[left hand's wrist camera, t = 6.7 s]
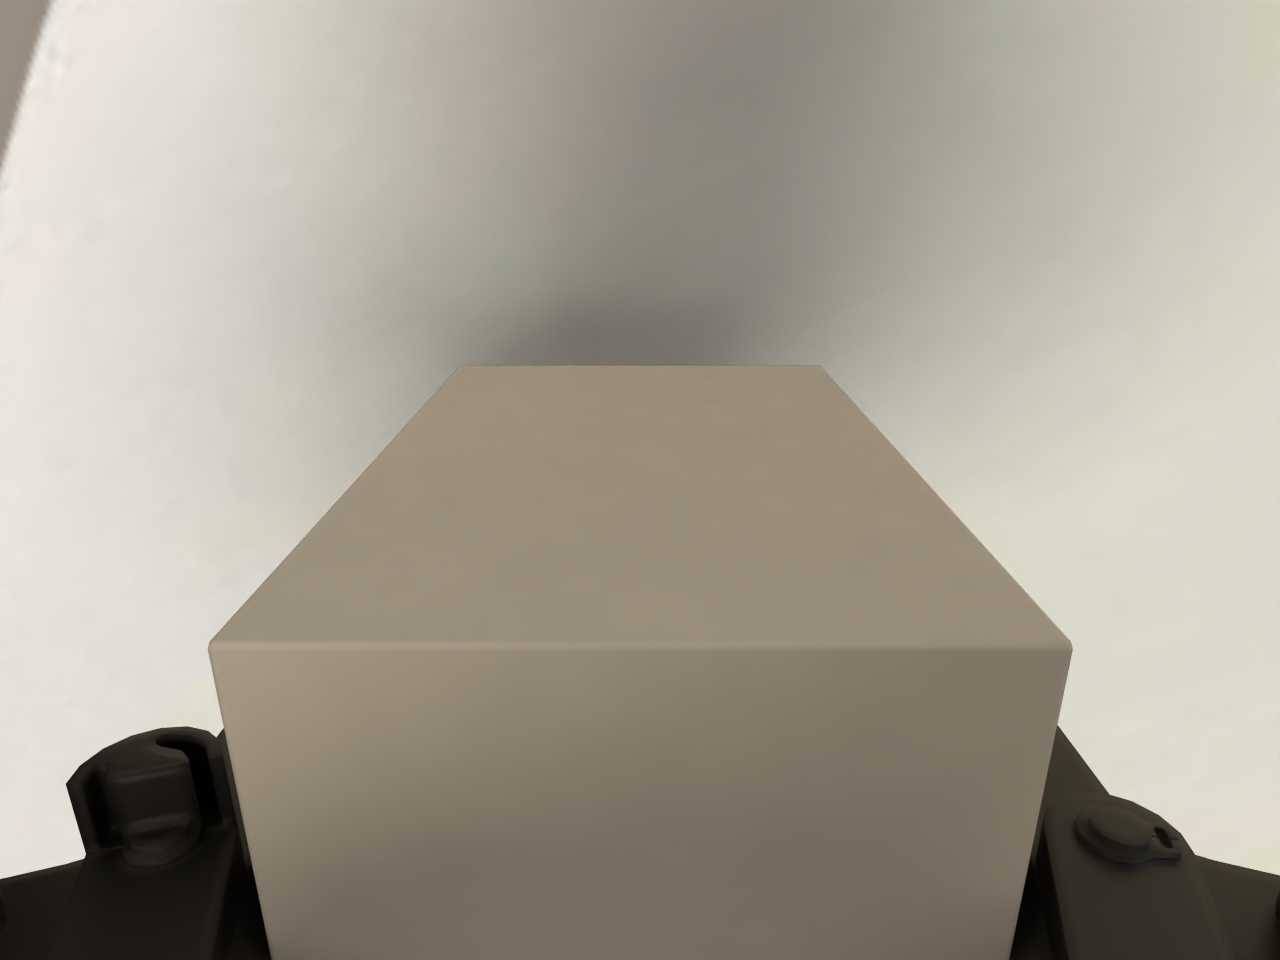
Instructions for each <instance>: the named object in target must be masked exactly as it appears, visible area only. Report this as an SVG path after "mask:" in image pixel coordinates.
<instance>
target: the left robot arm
mask: <svg viewBox="0 0 1280 960" xmlns="http://www.w3.org/2000/svg"><path fill="white" fill-rule="evenodd" d="M66 786H67V790H68V793H69V797H70V800H71V804H72V807H73V811H74V814H75V817H76V821H77V824H78V828H79V831H80V835H81V838H82V841H83V845H84V848H85V852H86V856H85V858H84V859H82V860H78V861H75V862H72V863H68V864H65V865H60V866H56V867H51V868H47V869H43V870H38V871H34V872H30V873H25V874H21V875H17V876H12V877H8V878H3V879H0V960H272V959H271V954H270V949H269V944H268V939H267V935H266V930H265V925H264V920H263V915H262V910H261V905H260V900H259V896H258V891H257V886H256V881H255V876H254V871H253V866H252V862H251V857H250V852H249V847H248V842H247V837H246V832H245V827H244V823H243V818H242V813H241V808H240V803H239V798H238V793H237V788H236V784H235V779H234V774H233V769H232V764H231V759H230V754H229V749H228V745H227V740H226V735H225V730H224V729H223V730H222V731H221V732H220V734H219V735H218V736H217V738H216V737H215V736H214V735H212V734H211V733H210V732H209V731H206V730H201V729H197V728H192V727H171V728H159V729H155V730H152V731H148V732H144V733H140V734H136V735H133V736H130V737H128V738H126V739H123V740H121V741H119V742H117V743H115V744H113V745H110V746H108V747H106V748H104V749H102V750H101V751H100V752H98V753H97V754H95V755H94V756H93V757H91V758H90V759H88V760H87V761H86V762H84V763H83V764H82V765H80V766H79V768H78V769H77V770H76V772H75V773H74V774H73V775H72V777H71V778H70V779H69V781H68V782H67V783H66ZM1009 960H1280V875H1275V874H1271V873H1266V872H1262V871H1258V870H1253V869H1249V868H1244V867H1240V866H1236V865H1231V864H1227V863H1223V862H1218V861H1214V860H1211V859H1207V858H1204V857H1201V856H1197V855H1195V854H1194V852H1193V851H1192V849H1191V848H1190V846H1189V845H1188V843H1187V842H1186V840H1185V839H1184V837H1183V836H1182V834H1181V833H1180V832H1178V831H1177V830H1176V829H1175V828H1174V827H1172V826H1171V825H1170V824H1169V823H1168V822H1166V821H1165V820H1164V819H1163V818H1161V817H1160V816H1159V815H1157V814H1155V813H1153V812H1152V811H1150V810H1148V809H1146V808H1144V807H1142V806H1140V805H1138V804H1136V803H1134V802H1132V801H1129V800H1126V799H1122V798H1119V797H1116V796H1112V795H1109V793H1108V792H1107V791H1106V789H1105V788H1104V787H1103V785H1102V784H1101V783H1100V781H1099V780H1098V779H1097V777H1096V776H1095V775H1094V773H1093V772H1092V771H1091V769H1090V768H1089V767H1088V765H1087V764H1086V763H1085V761H1084V760H1083V758H1082V757H1081V756H1080V754H1079V753H1078V752H1077V750H1076V749H1075V748H1074V746H1073V745H1072V744H1071V742H1070V741H1069V740H1068V738H1067V737H1066V736H1065V734H1064V733H1063V732H1062V730H1061V729H1060V728H1059V726H1057V728H1056V733H1055V738H1054V743H1053V748H1052V753H1051V757H1050V762H1049V767H1048V772H1047V777H1046V782H1045V787H1044V791H1043V796H1042V801H1041V806H1040V811H1039V816H1038V821H1037V826H1036V830H1035V835H1034V840H1033V845H1032V850H1031V855H1030V860H1029V865H1028V869H1027V874H1026V879H1025V884H1024V889H1023V894H1022V899H1021V904H1020V908H1019V913H1018V918H1017V923H1016V928H1015V933H1014V938H1013V942H1012V947H1011V952H1010V957H1009Z"/></svg>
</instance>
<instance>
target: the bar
mask: <svg viewBox="0 0 1280 960" xmlns="http://www.w3.org/2000/svg"><path fill="white" fill-rule="evenodd" d="M208 652H209V657H210V662H211V667H212V671H213V676H214V681H215V686H216V691H217V696H218V701H219V706H220V710H221V715H222V720H223V725H224V730H225V735H226V740H227V745H228V749H229V754H230V759H231V764H232V769H233V774H234V779H235V784H236V788H237V793H238V798H239V803H240V808H241V813H242V818H243V823H244V827H245V832H246V837H247V842H248V847H249V852H250V857H251V862H252V866H253V871H254V876H255V881H256V886H257V891H258V896H259V900H260V905H261V910H262V915H263V920H264V925H265V930H266V935H267V939H268V944H269V949H270V954H271V959H272V960H1009V957H1010V952H1011V947H1012V942H1013V938H1014V933H1015V928H1016V923H1017V918H1018V913H1019V908H1020V904H1021V899H1022V894H1023V889H1024V884H1025V879H1026V874H1027V869H1028V865H1029V860H1030V855H1031V850H1032V845H1033V840H1034V835H1035V830H1036V826H1037V821H1038V816H1039V811H1040V806H1041V801H1042V796H1043V791H1044V787H1045V782H1046V777H1047V772H1048V767H1049V762H1050V757H1051V753H1052V748H1053V743H1054V738H1055V733H1056V728H1057V723H1058V718H1059V714H1060V709H1061V704H1062V699H1063V694H1064V689H1065V684H1066V679H1067V675H1068V670H1069V665H1070V660H1071V655H1072V644H1071V641H1070V640H1069V639H1068V638H1067V637H1066V636H1065V635H1064V634H1063V633H1062V632H1061V630H1060V629H1059V628H1058V627H1057V626H1056V625H1055V624H1054V623H1053V622H1052V620H1051V619H1050V618H1049V617H1048V616H1047V615H1046V614H1045V613H1044V612H1043V611H1042V609H1041V608H1040V607H1039V606H1038V605H1037V604H1036V603H1035V602H1034V601H1033V600H1032V598H1031V597H1030V596H1029V595H1028V594H1027V593H1026V592H1025V591H1024V590H1023V589H1022V587H1021V586H1020V585H1019V584H1018V583H1017V582H1016V581H1015V580H1014V579H1013V577H1012V576H1011V575H1010V574H1009V573H1008V572H1007V571H1006V570H1005V569H1004V568H1003V566H1002V565H1001V564H1000V563H999V562H998V561H997V560H996V559H995V558H994V557H993V555H992V554H991V553H990V552H989V551H988V550H987V549H986V548H985V547H984V546H983V544H982V543H981V542H980V541H979V540H978V539H977V538H976V537H975V536H974V534H973V533H972V532H971V531H970V530H969V529H968V528H967V527H966V526H965V525H964V523H963V522H962V521H961V520H960V519H959V518H958V517H957V516H956V515H955V514H954V512H953V511H952V510H951V509H950V508H949V507H948V506H947V505H946V504H945V502H944V501H943V500H942V499H941V498H940V497H939V496H938V495H937V494H936V493H935V491H934V490H933V489H932V488H931V487H930V486H929V485H928V484H927V483H926V482H925V480H924V479H923V478H922V477H921V476H920V475H919V474H918V473H917V472H916V471H915V469H914V468H913V467H912V466H911V465H910V464H909V463H908V462H907V461H906V459H905V458H904V457H903V456H902V455H901V454H900V453H899V452H898V451H897V450H896V448H895V447H894V446H893V445H892V444H891V443H890V442H889V441H888V440H887V439H886V437H885V436H884V435H883V434H882V433H881V432H880V431H879V430H878V429H877V428H876V426H875V425H874V424H873V423H872V422H871V421H870V420H869V419H868V418H867V416H866V415H865V414H864V413H863V412H862V411H861V410H860V409H859V408H858V407H857V405H856V404H855V403H854V402H853V401H852V400H851V399H850V398H849V397H848V396H847V394H846V393H845V392H844V391H843V390H842V389H841V388H840V387H839V386H838V385H837V383H836V382H835V381H834V380H833V379H832V378H831V377H830V376H829V375H828V373H827V372H826V371H825V370H824V369H823V368H822V367H821V366H819V365H462V366H460V367H459V368H458V369H457V370H456V371H455V372H454V373H453V374H452V375H451V376H450V378H449V379H448V380H447V381H446V382H445V383H444V384H443V385H442V386H441V387H440V389H439V390H438V391H437V392H436V393H435V394H434V395H433V396H432V397H431V398H430V400H429V401H428V402H427V403H426V404H425V405H424V406H423V407H422V408H421V410H420V411H419V412H418V413H417V414H416V415H415V416H414V417H413V418H412V419H411V421H410V422H409V423H408V424H407V425H406V426H405V427H404V428H403V429H402V430H401V432H400V433H399V434H398V435H397V436H396V437H395V438H394V439H393V440H392V441H391V443H390V444H389V445H388V446H387V447H386V448H385V449H384V450H383V451H382V452H381V454H380V455H379V456H378V457H377V458H376V459H375V460H374V461H373V462H372V463H371V465H370V466H369V467H368V468H367V469H366V470H365V471H364V472H363V473H362V475H361V476H360V477H359V478H358V479H357V480H356V481H355V482H354V483H353V484H352V486H351V487H350V488H349V489H348V490H347V491H346V492H345V493H344V494H343V495H342V497H341V498H340V499H339V500H338V501H337V502H336V503H335V504H334V505H333V506H332V508H331V509H330V510H329V511H328V512H327V513H326V514H325V515H324V516H323V517H322V519H321V520H320V521H319V522H318V523H317V524H316V525H315V526H314V527H313V528H312V530H311V531H310V532H309V533H308V534H307V535H306V536H305V537H304V538H303V540H302V541H301V542H300V543H299V544H298V545H297V546H296V547H295V548H294V549H293V551H292V552H291V553H290V554H289V555H288V556H287V557H286V558H285V559H284V560H283V562H282V563H281V564H280V565H279V566H278V567H277V568H276V569H275V570H274V571H273V573H272V574H271V575H270V576H269V577H268V578H267V579H266V580H265V581H264V582H263V584H262V585H261V586H260V587H259V588H258V589H257V590H256V591H255V592H254V593H253V595H252V596H251V597H250V598H249V599H248V600H247V601H246V602H245V603H244V605H243V606H242V607H241V608H240V609H239V610H238V611H237V612H236V613H235V614H234V616H233V617H232V618H231V619H230V620H229V621H228V622H227V623H226V624H225V625H224V627H223V628H222V629H221V630H220V631H219V632H218V633H217V634H216V635H215V636H214V638H213V639H212V640H211V641H210V643H209V647H208Z"/></svg>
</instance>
